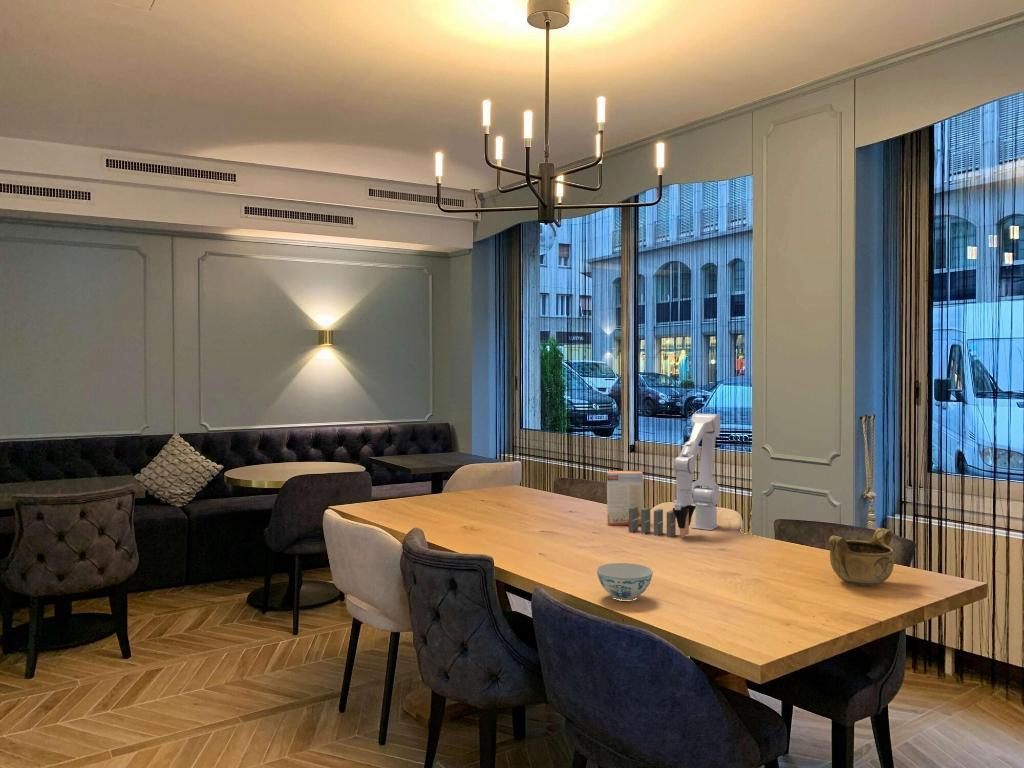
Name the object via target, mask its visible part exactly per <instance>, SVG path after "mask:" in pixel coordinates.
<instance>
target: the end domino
mask: <svg viewBox="0 0 1024 768" xmlns="http://www.w3.org/2000/svg"><path fill="white" fill-rule="evenodd" d="M636 530H637V531H639V525H638V507H636V506H634V507H631V508H629V525H628V532H629V531H630V532H629V533H632V532H633V531H635V532H637V531H636ZM633 533H634V532H633Z"/></svg>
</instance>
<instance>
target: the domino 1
mask: <svg viewBox="0 0 1024 768" xmlns="http://www.w3.org/2000/svg"><path fill="white" fill-rule="evenodd" d="M649 531H650V532H651V507H643V509H642V510H641V526H640V534H641V533H647V532H649ZM650 532H649V533H650ZM647 534H648V533H647Z"/></svg>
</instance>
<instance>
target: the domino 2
mask: <svg viewBox="0 0 1024 768" xmlns="http://www.w3.org/2000/svg"><path fill="white" fill-rule="evenodd" d="M661 533H662V534H663V533H664V509H663V508H657V509H655V510H653V536H656V535H658V536H660V535H662V534H661ZM659 534H660V535H659Z"/></svg>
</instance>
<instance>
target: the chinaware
mask: <svg viewBox="0 0 1024 768" xmlns="http://www.w3.org/2000/svg"><path fill="white" fill-rule="evenodd" d="M596 573H597V574H596V575H597V577H598V581H599V583H600V585H601V586H602V588H603V589H604V591H606V592H607V593H608V594H609V595H611V598H612V597H613V598H616V599H620V600H621V599H622V600H633V599H635V598H637V599H638V596H640V595H642V594H643V593H644V592H645V591H646V590H647V588H649V585H650V584H651V581H652V578H653V573H654V570H653V569H652V568H651V567H649V566H646V565H644V564H643V565H642V564H640V563H630V562H613V563H611V562H610V563H605V564H602V565H599V566H598V567H596ZM613 598H612V599H613Z"/></svg>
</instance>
